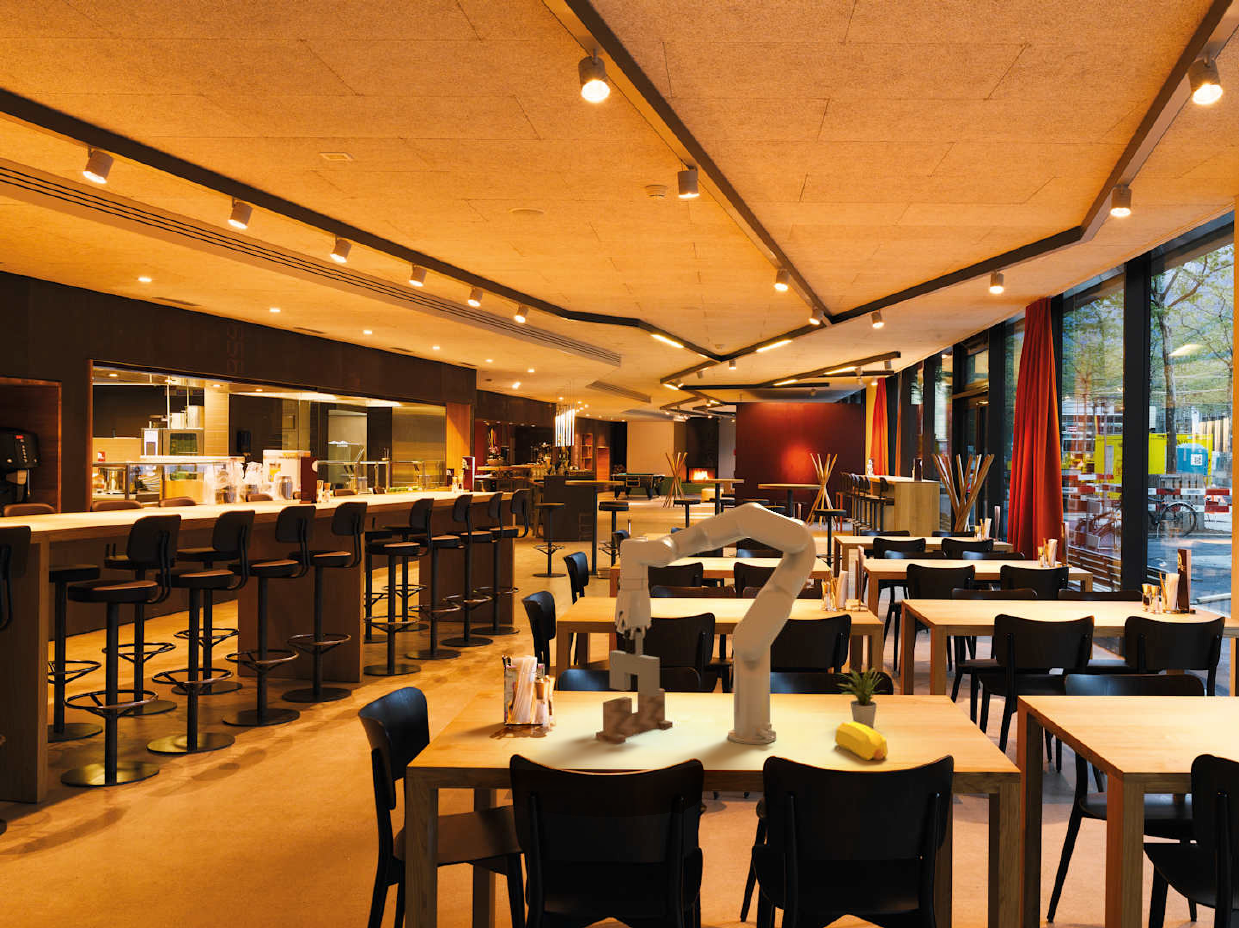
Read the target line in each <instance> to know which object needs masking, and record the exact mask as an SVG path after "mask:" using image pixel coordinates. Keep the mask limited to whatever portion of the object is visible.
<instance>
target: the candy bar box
mask: <svg viewBox="0 0 1239 928" xmlns="http://www.w3.org/2000/svg"><path fill="white" fill-rule="evenodd" d="M507 664H508V663H506V664H505V666H506V672H505V667H503V668H504V670H503V671H504V672H503V673H504V676H503V677H504V682H503V683H504V686H503V689H504V690H503V691H504V692H503V694H504V695H503V697H504V698H503V699H504V700H503V725H504V724H505V723H507V719H508V703H509V702H510V701H511V700H512V699H513V690H514V687H515V684H516V681H517V676H518V673H517V670H516V666H514V665H512V666H509V665H507ZM537 664H538V668H537V677H538V678H542V677H544V678H545V663H537ZM506 674H507V685H506Z"/></svg>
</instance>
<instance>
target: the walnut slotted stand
mask: <svg viewBox="0 0 1239 928" xmlns="http://www.w3.org/2000/svg"><path fill="white" fill-rule="evenodd" d="M665 695H666V690H665V689H664V688H660V696H656V697H650V696H645V695H641V694H638V693H637V711H635V712H633V698H632V697H630V696H629V697H628V696H622V697H618V698H615V699H611V700H605V701H603V702H602V730H601V731H598V732H597V731H596V732H595V739H597V740H600V739H601V740H600V741H604V740H605V742H607V741H608V743H611V744H616V745H619V744H622V743H623V744H624V743H626V741H627V740H626V739H627V738H628V737H632V736H635V735H638V734H637V733H639V734H641V733H644V732H648V730H649V731H652V730H655V729H658V728H657V727H659V729H661V728H663V729H662V730H669V729H671V728H670V727H672V728H673V726H674V725H673V721H670V720H666V696H665ZM654 728H655V729H654ZM668 728H669V729H668ZM651 729H652V730H651ZM634 734H635V735H634Z"/></svg>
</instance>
